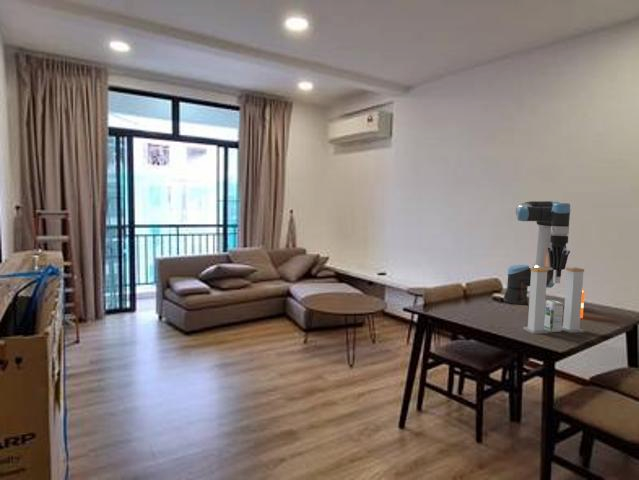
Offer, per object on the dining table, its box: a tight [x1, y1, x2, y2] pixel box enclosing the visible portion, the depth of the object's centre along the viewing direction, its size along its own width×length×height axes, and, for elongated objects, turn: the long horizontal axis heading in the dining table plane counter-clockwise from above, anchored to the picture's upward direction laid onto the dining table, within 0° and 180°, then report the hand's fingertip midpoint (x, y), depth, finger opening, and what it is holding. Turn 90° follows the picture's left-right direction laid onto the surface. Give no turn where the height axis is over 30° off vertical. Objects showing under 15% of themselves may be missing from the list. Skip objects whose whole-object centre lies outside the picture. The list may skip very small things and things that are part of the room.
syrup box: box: [544, 299, 564, 333], centre depth 208 cm, size 6×6×14 cm
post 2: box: [561, 267, 585, 334], centre depth 208 cm, size 8×8×31 cm
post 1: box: [522, 267, 549, 335], centre depth 206 cm, size 8×8×31 cm
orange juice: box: [580, 288, 585, 319], centre depth 235 cm, size 8×9×20 cm
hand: (556, 282), depth 206 cm, fingers closed
